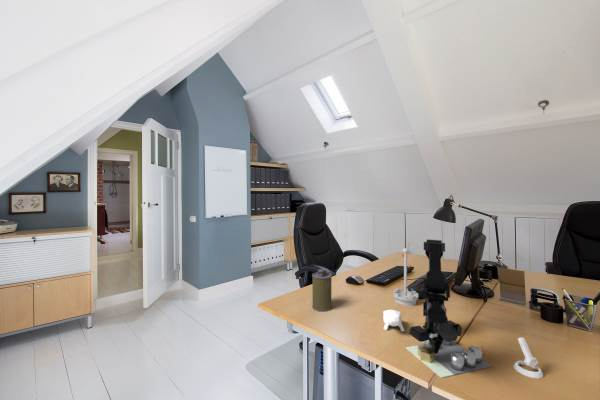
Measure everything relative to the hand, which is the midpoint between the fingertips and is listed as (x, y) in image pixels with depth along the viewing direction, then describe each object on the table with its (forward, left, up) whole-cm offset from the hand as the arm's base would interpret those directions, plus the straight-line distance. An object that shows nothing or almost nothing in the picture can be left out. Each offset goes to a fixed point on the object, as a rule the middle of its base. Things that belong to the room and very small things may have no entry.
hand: (435, 353), depth 100 cm
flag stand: (-47, +22, -2) cm, 52 cm away
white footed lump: (-23, -2, -2) cm, 23 cm away
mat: (+1, +3, -1) cm, 4 cm away
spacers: (+1, +7, -1) cm, 7 cm away
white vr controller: (+15, +24, -2) cm, 29 cm away
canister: (-53, -25, -2) cm, 59 cm away
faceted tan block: (0, -4, -1) cm, 4 cm away
